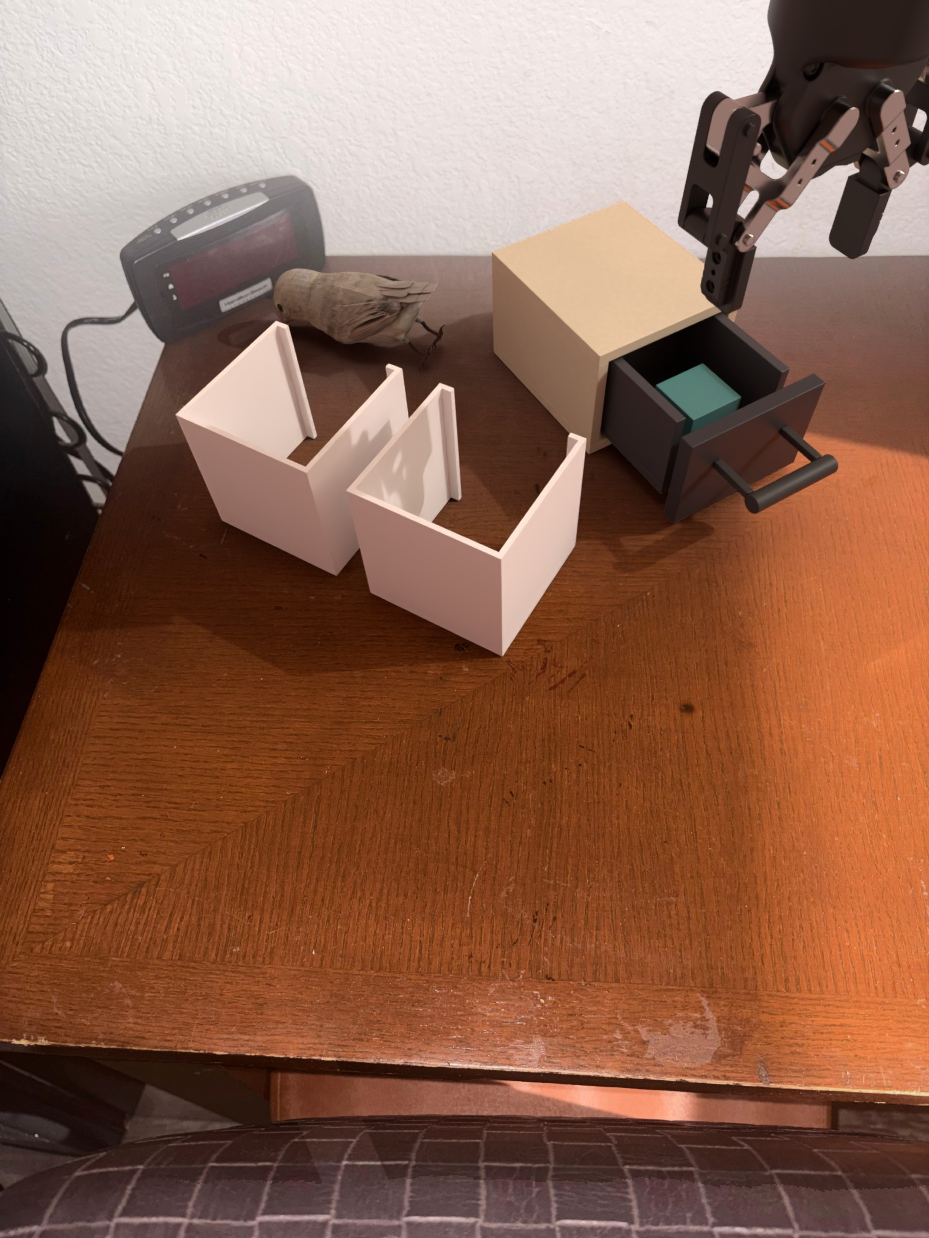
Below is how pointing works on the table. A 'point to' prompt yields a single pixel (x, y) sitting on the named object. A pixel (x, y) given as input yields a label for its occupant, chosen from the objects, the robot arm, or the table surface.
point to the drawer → (726, 446)
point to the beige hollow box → (590, 307)
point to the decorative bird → (354, 305)
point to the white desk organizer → (374, 493)
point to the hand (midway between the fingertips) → (785, 276)
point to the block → (699, 397)
